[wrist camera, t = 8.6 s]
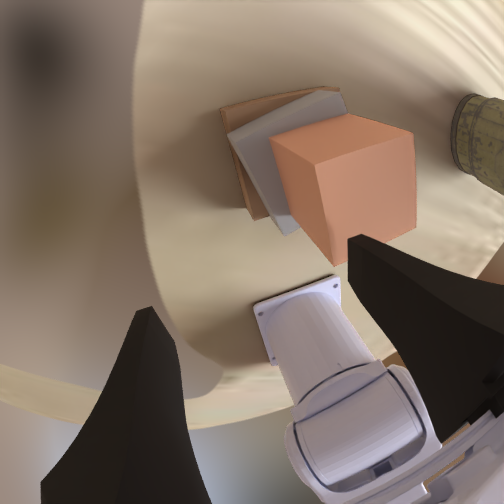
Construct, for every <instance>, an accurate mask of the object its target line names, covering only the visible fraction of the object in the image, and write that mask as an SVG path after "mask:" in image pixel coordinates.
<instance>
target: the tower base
mask: <svg viewBox="0 0 504 504" xmlns="http://www.w3.org/2000/svg"><path fill="white" fill-rule="evenodd" d="M317 90H324V91H333V92H340V89H339V88H337V87H325V86H323V87H317V88H311V89H305V90H299V91H293V92H288V93H283V94H278V95H273V96H269V97H264V98H260V99H255V100H251V101H247V102H243V103H239V104H235V105H231V106H228V107H224V108H220V112H221V115H222V119H223V123H224V126H225V130H226V134H228V133H230V132H232V131H234V130H236V129H237V128H239V127H241V126H243V125H245V124H247V123H249V122H251V121H253V120H255V119H257V118H259V117H261V116H263V115H265V114H267V113H269V112H271V111H273V110H275V109H277V108H279V107H281V106H283V105H286V104H288V103H290V102H292V101H294V100H296V99H299V98H301V97H303V96H305V95H308V94H310V93H312V92H315V91H317ZM228 141H229V139H228ZM229 145H230V148H231V152H232V156H233V159H234V163H235V167H236V171H237V174H238V178H239V182H240V185H241V189H242V193H243V196H244V200H245V204H246V208H247V210H248V211H249V213H250V215H251V216H252V218H253V220H254V221H256V220H259V219H262V218H265V217H268V216H270V215H269V213H268V211H267V209H266V207H265V206H264V204H263V202H262V200H261V198H260V196H259V194H258V192H257V190H256V189H255V187H254V185H253V183H252V181H251V179H250V177H249V175H248V174H247V172H246V170H245V168H244V166H243V164H242V162H241V161H240V159H239V157H238V155H237V153H236V151H235V150H234V148H233V146H232V144H231V142H230V141H229Z"/></svg>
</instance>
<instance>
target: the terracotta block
mask: <svg viewBox="0 0 504 504" xmlns="http://www.w3.org/2000/svg"><path fill="white" fill-rule="evenodd" d="M269 141H270V144H271V147H272V151H273V154H274V157H275V161H276V164H277V167H278V171H279V174H280V178H281V181H282V185H283V188H284V192H285V195H286V199H287V202H288V206H289V210H290V213H291V216H292V217H293V218H294V219H295V221H296V222H297V223H298V224H299V225H300V226H301V228H302V229H303V230H304V231H305V232H306V234H307V235H308V236H309V237H310V238H311V239H312V241H313V242H314V243H315V244H316V245H317V247H318V248H319V249H320V250H321V252H322V253H323V254H324V255H325V256H326V258H327V259H328V260H329V261H330V263H331V264H332V265H333V266H334V267H335V266H337V265H339V264H342V263H344V262H346V261H348V248H347V239H348V238H351V237H354V236H356V235H359V234H364V235H366V236H369V237H371V238H373V239H376V240H378V241H380V242H382V243H386V242H388V241H390V240H392V239H394V238H396V237H398V236H400V235H402V234H404V233H406V232H408V231H410V230H412V229H414V228H416V216H417V192H416V164H415V148H414V136H413V133H411V132H409V131H406V130H403V129H400V128H397V127H393V126H390V125H387V124H384V123H380V122H377V121H374V120H370V119H367V118H363V117H359V116H355V115H352V114H348V113H347V114H344V115H340V116H336V117H333V118H329V119H326V120H322V121H319V122H315V123H312V124H309V125H305V126H302V127H299V128H296V129H293V130H290V131H287V132H284V133H281V134H278V135H275V136H272V137H269Z"/></svg>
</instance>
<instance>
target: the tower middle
mask: <svg viewBox="0 0 504 504" xmlns="http://www.w3.org/2000/svg"><path fill="white" fill-rule="evenodd" d="M347 113H348V112H347V109H346V106H345V103H344V101H343V98H342V95H341V93H340V92H333V91H324V90H317V91H315V92H312V93H310V94H308V95H305V96H303V97H301V98H299V99H296V100H294V101H292V102H290V103H288V104H286V105H283V106H281V107H279V108H277V109H275V110H273V111H271V112H269V113H267V114H265V115H263V116H261V117H259V118H257V119H255V120H253V121H251V122H249V123H247V124H245V125H243V126H241V127H239V128H237V129H236V130H234V131H232V132H230V133H228V134H226V135H227V137H228V139H229V141H230V142H231V144H232V146H233V148H234V150H235V151H236V153H237V155H238V157H239V159H240V161H241V162H242V164H243V166H244V168H245V170H246V172H247V174H248V175H249V177H250V179H251V181H252V183H253V185H254V187H255V189H256V190H257V192H258V194H259V196H260V198H261V200H262V202H263V204H264V206H265V207H266V209H267V211H268V213H269V215H270V217H271V219H272V220H273V221H274V223H275V224H276V225H277V227H278V228H279V230H280V231H281V232H282V234H283V235H284V237H285V236H286V235H288V234H290V233H292V232H293V231H295V230H297V229H299V228H300V227H301V226H300V225H299V224H298V223H297V222H296V221H295V219H294V218H293V217H292V216H291V213H290V210H289V206H288V202H287V199H286V195H285V192H284V188H283V185H282V181H281V178H280V174H279V171H278V167H277V164H276V161H275V157H274V154H273V151H272V147H271V144H270V141H269V137H272V136H275V135H278V134H281V133H284V132H287V131H290V130H293V129H296V128H299V127H302V126H305V125H309V124H312V123H315V122H319V121H322V120H326V119H329V118H333V117H336V116H340V115H344V114H347Z"/></svg>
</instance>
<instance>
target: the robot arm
mask: <svg viewBox="0 0 504 504" xmlns="http://www.w3.org/2000/svg"><path fill="white" fill-rule="evenodd" d="M347 248H348V282H349V284H350V285H351V287H352V289H353V291H354V292H355V294H356V296H357V297H358V299H359V301H360V302H361V303H362V305H363V306H364V307H365V309H366V310H367V311H368V313H369V314H370V315H371V316H372V318H373V319H374V320H375V322H376V323H377V324H378V325H379V327H380V328H381V329H382V331H383V332H384V333H385V335H386V336H387V337H388V339H389V340H390V341H391V343H392V344H393V345H394V347H395V348H396V350H397V351H398V353H399V355H400V356H401V358H402V360H403V362H404V363H405V365H406V367H407V369H408V370H407V369H406V368H404V367H402V366H397V365H395V364H392V365H390V366H389V367H387V369H386V368H385V366H384V365H383V363H382V362H381V360H380V359H377V360H375V358H374V357H373V355H372V354H371V352H370V351H369V349H368V348H367V346H366V345H365V343H364V342H363V340H362V339H361V337H360V336H359V334H358V333H357V331H356V330H355V328H354V327H353V326H352V324H351V323H350V321H349V320H348V318H347V317H346V315H345V314H344V312H343V311H342V310H341V291H340V278H339V276H337V275H333V276H330V277H328V278H325V279H322V280H320V281H317V282H315V283H312V284H309V285H306V286H304V287H301V288H298V289H296V290H293V291H290V292H287V293H285V294H282V295H279V296H276V297H273V298H271V299H268V300H265V301H262V302H259V303H257V304H255V305H254V307H253V310H254V313H255V316H256V320H257V323H258V326H259V329H260V332H261V335H262V338H263V341H264V344H265V348H266V351H267V354H268V357H269V360H270V363H271V365H272V366H276V365H278V366H279V368H280V370H281V373H282V375H283V378H284V380H285V383H286V385H287V388H288V390H289V393H290V395H291V397H292V400H293V402H294V405H295V407H293V408H292V409H290V412H291V414H292V417H293V419H294V421H292V422H290V423H289V424H288V425H287V427H286V432H285V435H284V443H285V447H286V451H287V454H288V457H289V460H290V462H291V464H292V466H293V468H294V470H295V471H296V473H297V475H298V476H299V477H300V479H301V480H302V481H303V482H304V483H305V484H306V485H307V486H309V487H311V489H312V490H313V491H314V492H315V493H316V494H317V496H318V497H319V498H320V500H321V501H322V502H324V503H325V504H504V285H500V284H495V283H490V282H485V281H482V280H478V279H474V278H470V277H467V276H463V275H460V274H457V273H454V272H451V271H448V270H445V269H443V268H440V267H437V266H435V265H432V264H430V263H427V262H425V261H422V260H420V259H418V258H415V257H413V256H411V255H409V254H406V253H404V252H402V251H400V250H398V249H395V248H393V247H391V246H389V245H387V244H385V243H382V242H380V241H378V240H376V239H373V238H371V237H369V236H366V235H364V234H359V235H356V236H354V237H351V238H348V239H347ZM334 284H335V285H334ZM259 312H261V313H259ZM468 423H469V424H470V425H471V426H470V427H469V428H467V429H466V430H465V431H464V432H462V433H461V434H460V435H459V436H457V437H456V438H455V439H453V440H452V441H451V442H449V443H448V444H447V445H445V446H444V447H442V443H443V442H444V441H446V440H447V439H448V438H450V437H451V436H453V435H454V434H455V433H456V432H458V431H459V430H460V429H462V428H463V427H464V426H465V425H467V424H468ZM465 451H466V452H465ZM464 452H465V457H464V459H463V460H461V461H460V462H458V463H456V464H455V465H453V466H452V467H450V468H449V469H447V470H446V471H445V472H443V473H442V474H441V475H439V476H438V477H437V478H435V479H434V480H433V481H431V482H430V483H429V484H428V485H427V487H428V489H429V491H430V492H429V493H427V491H426V489H425V487H424V485H423V481H425V480H427V479H428V478H430V477H431V476H433V475H434V474H435V473H437V472H438V471H440V470H441V469H443V468H444V467H445V466H447V465H448V464H450V463H451V462H452V461H454V460H455V459H456V458H457V457H459V456H460V455H461V454H463V453H464ZM41 504H212V503H211V500H210V498H209V496H208V493H207V491H206V488H205V485H204V482H203V480H202V477H201V474H200V471H199V468H198V465H197V462H196V458H195V455H194V452H193V448H192V445H191V441H190V437H189V433H188V429H187V423H186V416H185V408H184V399H183V390H182V380H181V371H180V365H179V359H178V354H177V350H176V346H175V342H174V340H173V339H172V337H171V335H170V334H169V333H168V331H167V329H166V328H165V326H164V325H163V323H162V321H161V320H160V318H159V317H158V315H157V314H156V312H155V310H154V309H153V307H152V306H151V307H147V308H144V309H141V310H138V311H136V313H135V315H134V318H133V320H132V322H131V325H130V327H129V330H128V332H127V335H126V338H125V340H124V342H123V345H122V348H121V350H120V352H119V355H118V357H117V360H116V362H115V365H114V367H113V369H112V371H111V374H110V376H109V378H108V380H107V383H106V385H105V387H104V389H103V391H102V393H101V395H100V397H99V399H98V401H97V403H96V405H95V407H94V408H93V410H92V412H91V414H90V416H89V417H88V419H87V420H86V422H85V424H84V425H83V427H82V429H81V430H80V432H79V434H78V435H77V437H76V438H75V440H74V441H73V443H72V444H71V445H70V447H69V448H68V450H67V451H66V452H65V454H64V455H63V456H62V458H61V459H60V460H59V462H58V463H57V464H56V465H55V467H54V468H53V469H52V470H51V471H50V472H49V473H48V474H47V476H46V477H45V478H44V479H43V480H42V481H41Z"/></svg>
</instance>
